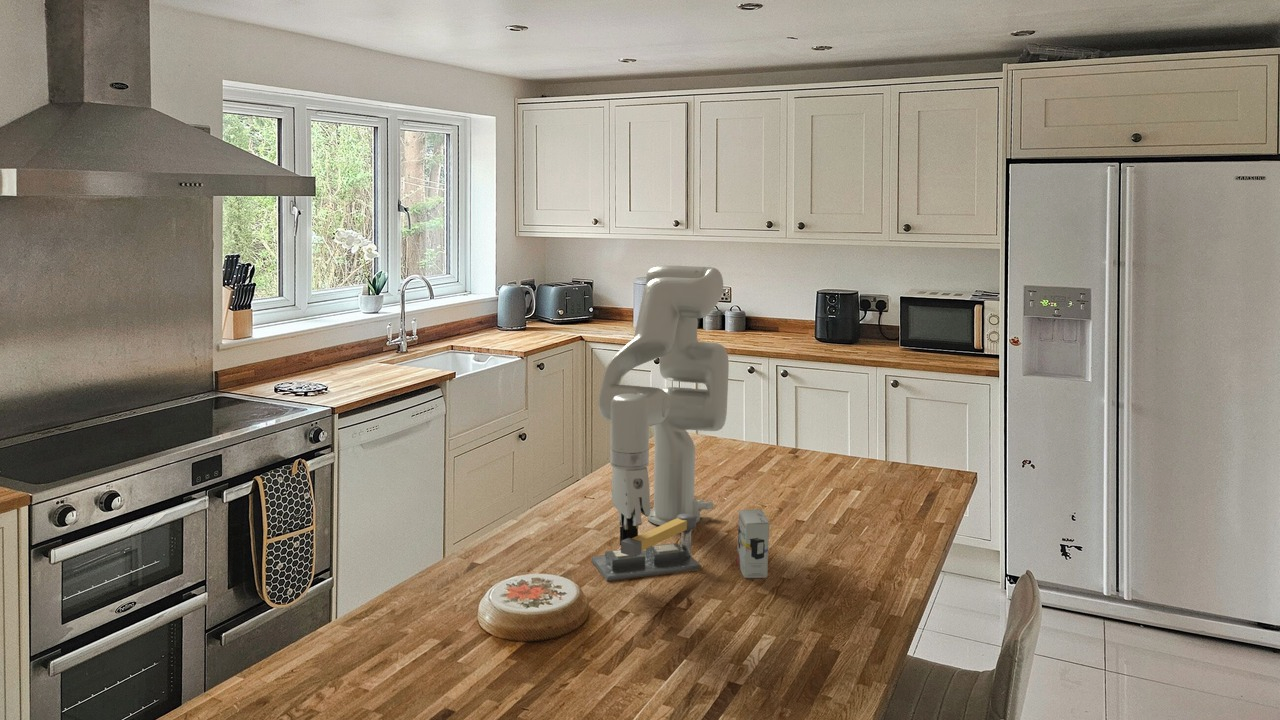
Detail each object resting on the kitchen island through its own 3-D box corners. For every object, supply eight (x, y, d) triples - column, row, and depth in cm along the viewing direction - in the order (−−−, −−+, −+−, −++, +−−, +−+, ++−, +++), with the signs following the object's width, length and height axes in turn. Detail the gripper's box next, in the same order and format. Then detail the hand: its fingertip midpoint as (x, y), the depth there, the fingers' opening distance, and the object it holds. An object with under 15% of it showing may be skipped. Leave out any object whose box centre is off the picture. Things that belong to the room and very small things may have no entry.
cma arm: (684, 522, 206) (684, 511, 206) (699, 526, 204) (699, 515, 203) (619, 552, 189) (619, 540, 188) (635, 557, 186) (635, 545, 186)
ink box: (736, 562, 204) (737, 508, 202) (759, 562, 204) (761, 508, 202) (744, 578, 195) (745, 522, 193) (767, 578, 196) (770, 522, 194)
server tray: (680, 550, 210) (681, 519, 209) (700, 569, 200) (701, 536, 198) (591, 561, 203) (591, 529, 202) (607, 581, 193) (607, 547, 192)
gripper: (661, 465, 185) (660, 557, 188) (633, 445, 198) (633, 531, 202) (624, 469, 182) (624, 562, 185) (598, 449, 196) (598, 535, 199)
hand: (628, 546), depth 193 cm, fingers closed
